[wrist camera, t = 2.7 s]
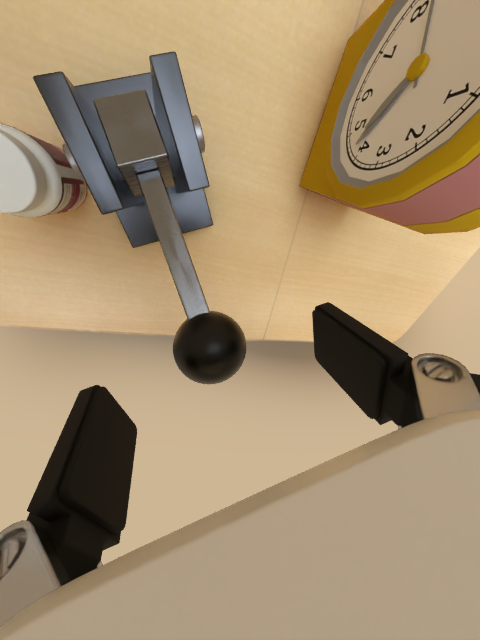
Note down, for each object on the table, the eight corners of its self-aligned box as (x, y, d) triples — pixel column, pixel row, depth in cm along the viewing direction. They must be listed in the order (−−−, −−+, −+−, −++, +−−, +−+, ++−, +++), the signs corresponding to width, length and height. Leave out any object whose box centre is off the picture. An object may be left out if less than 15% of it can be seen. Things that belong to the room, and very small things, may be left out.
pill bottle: (0, 147, 17) (-120, 111, 10) (69, 139, 17) (6, 100, 10) (39, 216, 19) (-34, 229, 12) (98, 206, 20) (63, 212, 13)
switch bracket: (211, 223, 23) (252, 247, 12) (134, 245, 22) (106, 292, 11) (171, 75, 17) (183, -120, 7) (64, 95, 16) (-127, -99, 6)
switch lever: (248, 360, 13) (263, 376, 10) (190, 382, 13) (184, 408, 9) (171, 139, 12) (158, 69, 9) (106, 154, 12) (64, 86, 8)
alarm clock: (351, 5, 19) (1282, -941, 3) (414, 60, 22) (1034, -278, 6) (287, 201, 24) (500, 210, 9) (344, 222, 27) (574, 255, 12)
